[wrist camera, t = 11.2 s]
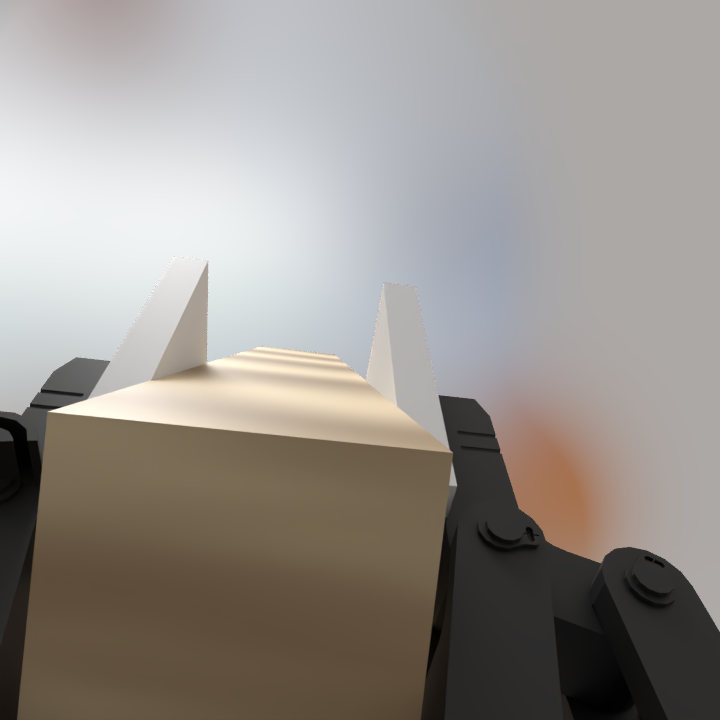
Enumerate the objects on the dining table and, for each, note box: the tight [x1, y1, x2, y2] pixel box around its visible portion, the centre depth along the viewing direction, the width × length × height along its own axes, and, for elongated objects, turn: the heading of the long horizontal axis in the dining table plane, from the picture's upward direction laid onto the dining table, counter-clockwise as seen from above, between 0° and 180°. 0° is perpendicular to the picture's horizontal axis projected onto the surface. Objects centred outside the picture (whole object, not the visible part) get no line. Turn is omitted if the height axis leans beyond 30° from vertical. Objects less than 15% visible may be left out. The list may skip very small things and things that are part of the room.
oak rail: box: [17, 346, 453, 720], centre depth 20 cm, size 28×4×4 cm, turn 5°
